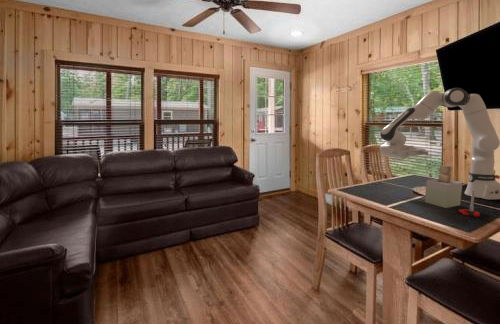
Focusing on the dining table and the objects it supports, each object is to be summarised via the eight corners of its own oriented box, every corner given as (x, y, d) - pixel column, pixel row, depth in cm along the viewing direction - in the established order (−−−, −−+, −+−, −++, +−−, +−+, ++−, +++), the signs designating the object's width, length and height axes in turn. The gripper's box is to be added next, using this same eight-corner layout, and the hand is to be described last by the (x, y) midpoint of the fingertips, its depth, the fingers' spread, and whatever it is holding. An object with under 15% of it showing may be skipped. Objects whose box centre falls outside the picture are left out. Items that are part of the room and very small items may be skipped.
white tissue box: (438, 199, 167) (440, 178, 165) (459, 205, 156) (462, 182, 154) (424, 202, 162) (426, 180, 160) (445, 208, 151) (448, 184, 149)
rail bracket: (442, 187, 160) (444, 165, 158) (449, 188, 156) (451, 166, 154) (437, 187, 159) (439, 165, 157) (444, 189, 155) (447, 166, 153)
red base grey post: (457, 210, 149) (460, 214, 141) (460, 186, 147) (463, 190, 139) (477, 212, 145) (481, 217, 137) (480, 188, 143) (484, 192, 135)
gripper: (390, 147, 176) (410, 149, 163) (413, 145, 184) (433, 147, 171) (390, 157, 177) (409, 160, 164) (412, 155, 185) (433, 157, 172)
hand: (422, 153), depth 168 cm, fingers open, 8 cm apart
